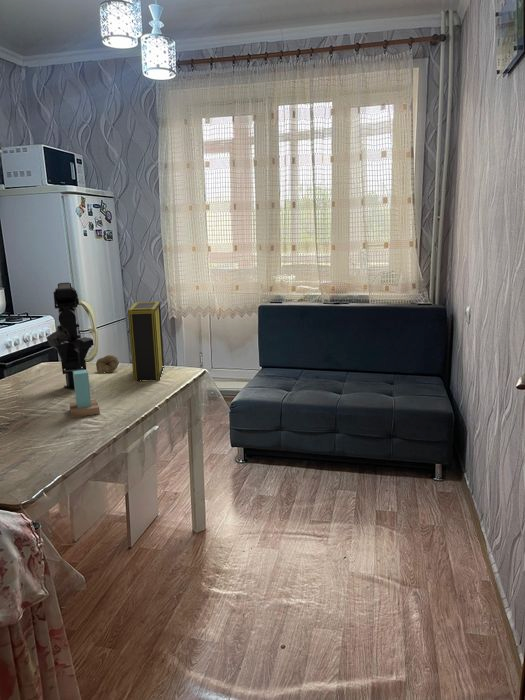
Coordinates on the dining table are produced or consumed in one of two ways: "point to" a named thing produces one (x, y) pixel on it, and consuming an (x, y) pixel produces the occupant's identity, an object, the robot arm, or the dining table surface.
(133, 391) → the dining table surface
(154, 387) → the dining table surface
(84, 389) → the tall block
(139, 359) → the diorama
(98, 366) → the fossil
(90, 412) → the base brick
